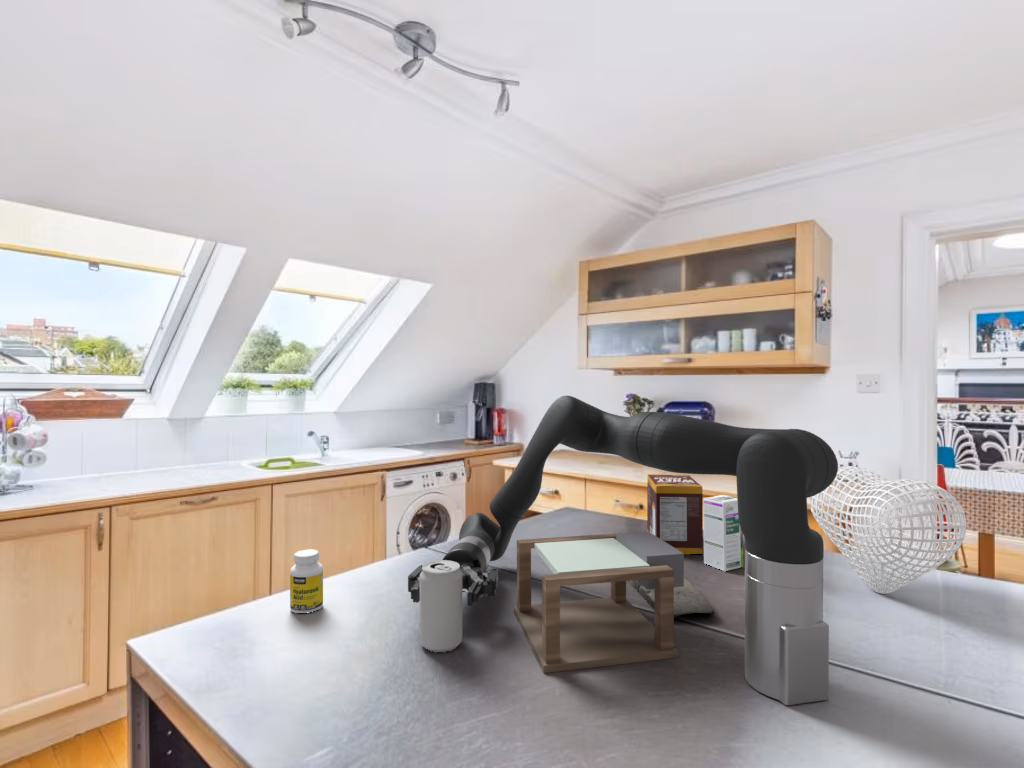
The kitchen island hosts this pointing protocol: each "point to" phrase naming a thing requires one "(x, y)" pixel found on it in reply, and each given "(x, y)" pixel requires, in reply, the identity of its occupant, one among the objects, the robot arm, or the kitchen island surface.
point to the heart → (889, 526)
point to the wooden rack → (593, 616)
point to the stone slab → (679, 599)
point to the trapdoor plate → (613, 555)
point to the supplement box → (676, 511)
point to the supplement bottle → (306, 582)
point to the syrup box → (722, 533)
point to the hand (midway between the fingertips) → (442, 597)
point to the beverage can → (441, 605)
